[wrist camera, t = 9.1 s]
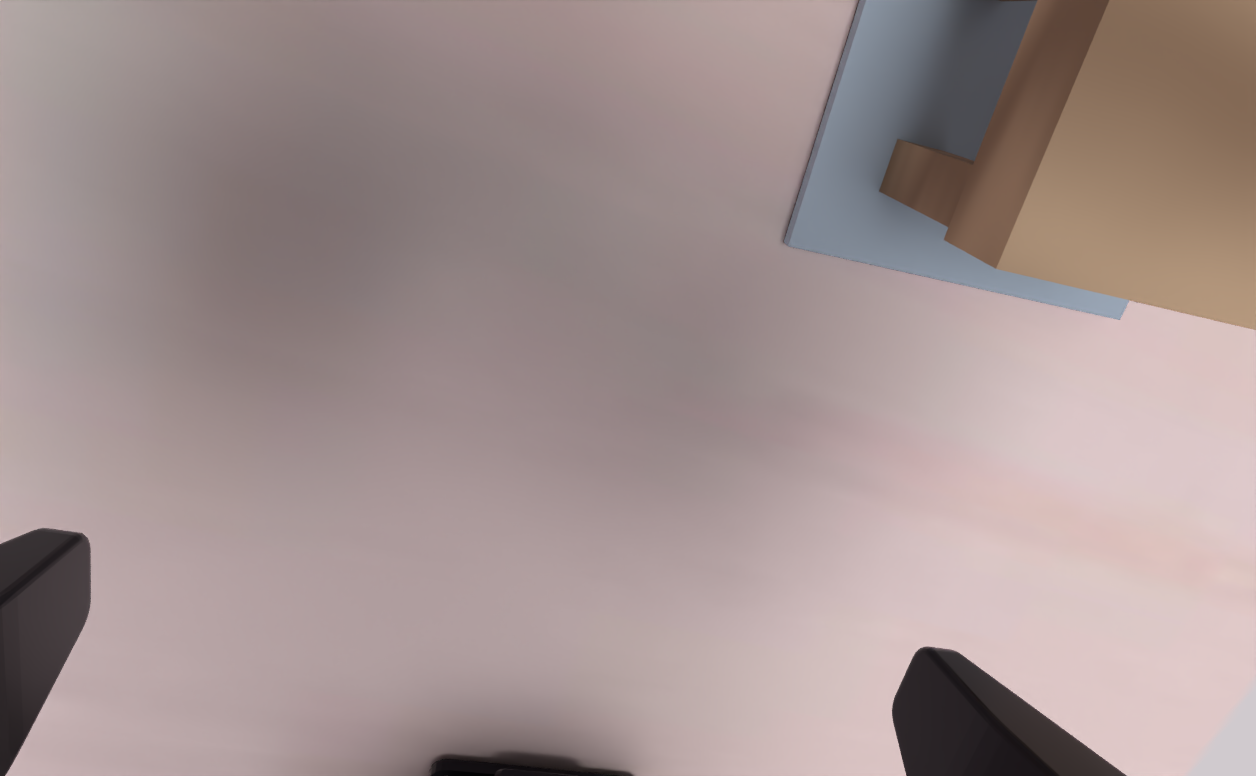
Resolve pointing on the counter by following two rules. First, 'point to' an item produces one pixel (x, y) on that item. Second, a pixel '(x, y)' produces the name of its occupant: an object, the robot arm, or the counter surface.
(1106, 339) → the counter surface
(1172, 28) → the stool
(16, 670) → the robot arm
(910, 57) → the pad
